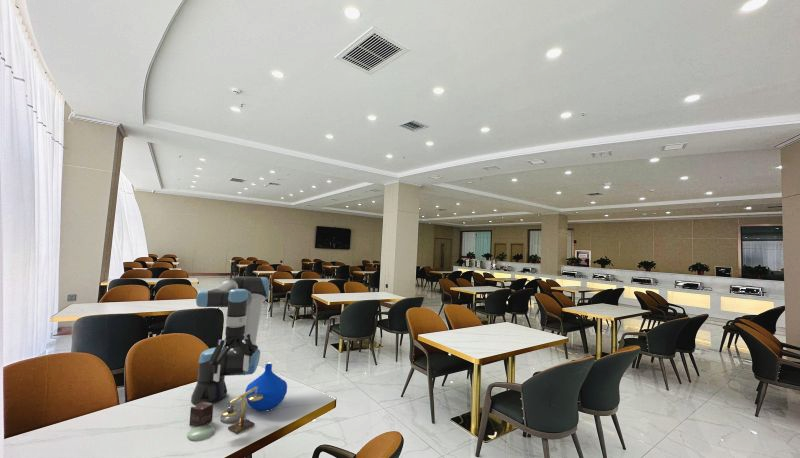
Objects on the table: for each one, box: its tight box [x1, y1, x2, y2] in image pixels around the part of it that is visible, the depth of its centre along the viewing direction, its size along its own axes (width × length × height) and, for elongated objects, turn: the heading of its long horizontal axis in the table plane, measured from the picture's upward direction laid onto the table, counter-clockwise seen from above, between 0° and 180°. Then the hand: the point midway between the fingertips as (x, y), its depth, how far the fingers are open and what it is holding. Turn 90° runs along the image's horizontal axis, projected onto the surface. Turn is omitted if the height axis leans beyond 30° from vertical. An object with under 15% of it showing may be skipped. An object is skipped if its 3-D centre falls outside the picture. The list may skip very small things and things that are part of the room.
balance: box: [221, 386, 263, 435], centre depth 133 cm, size 6×17×15 cm, turn 148°
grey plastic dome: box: [219, 410, 241, 425], centre depth 139 cm, size 9×9×1 cm
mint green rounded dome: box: [186, 424, 215, 441], centre depth 127 cm, size 9×9×1 cm
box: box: [188, 401, 215, 428], centre depth 134 cm, size 6×6×7 cm
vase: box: [244, 363, 288, 412], centre depth 152 cm, size 18×18×19 cm
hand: (231, 375), depth 138 cm, fingers open, 13 cm apart
